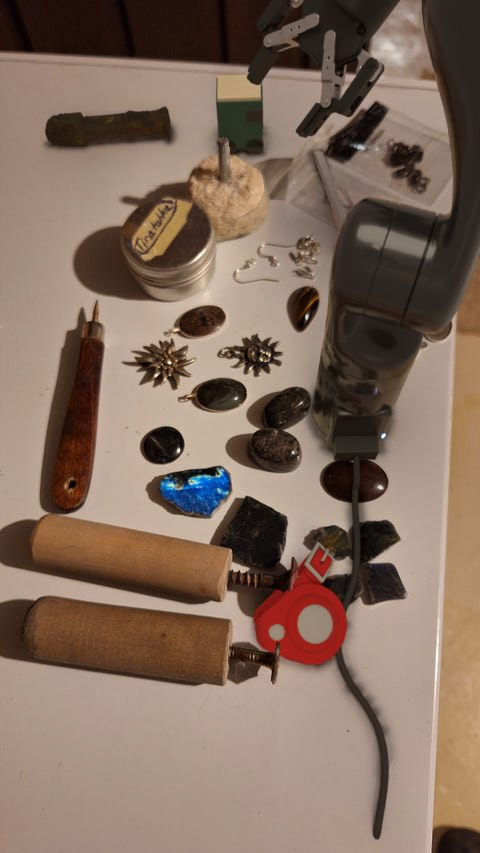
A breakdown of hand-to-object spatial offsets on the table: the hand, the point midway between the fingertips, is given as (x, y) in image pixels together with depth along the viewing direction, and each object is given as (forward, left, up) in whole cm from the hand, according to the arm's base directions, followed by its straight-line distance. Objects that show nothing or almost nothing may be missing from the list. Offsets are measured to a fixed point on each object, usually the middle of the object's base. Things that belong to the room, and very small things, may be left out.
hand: (276, 108), depth 70 cm
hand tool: (+19, +24, -21) cm, 37 cm away
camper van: (+18, +4, -20) cm, 27 cm away
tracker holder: (-51, -3, -21) cm, 55 cm away
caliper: (+5, -8, -21) cm, 23 cm away
